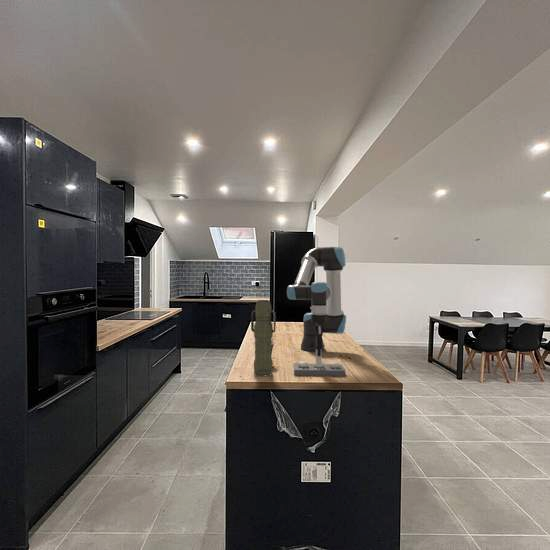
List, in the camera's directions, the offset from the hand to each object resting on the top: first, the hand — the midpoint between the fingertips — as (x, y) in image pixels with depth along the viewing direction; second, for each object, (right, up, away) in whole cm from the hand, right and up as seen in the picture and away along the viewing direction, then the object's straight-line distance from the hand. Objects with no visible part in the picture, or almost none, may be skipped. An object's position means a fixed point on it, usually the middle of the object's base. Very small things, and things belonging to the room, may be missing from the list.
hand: (318, 362), depth 174 cm
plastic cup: (-27, -5, +15) cm, 31 cm away
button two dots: (-7, -4, 0) cm, 9 cm away
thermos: (-27, -5, -3) cm, 28 cm away
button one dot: (+8, -4, 0) cm, 9 cm away
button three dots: (0, -4, 0) cm, 4 cm away
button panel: (0, -5, 0) cm, 5 cm away
